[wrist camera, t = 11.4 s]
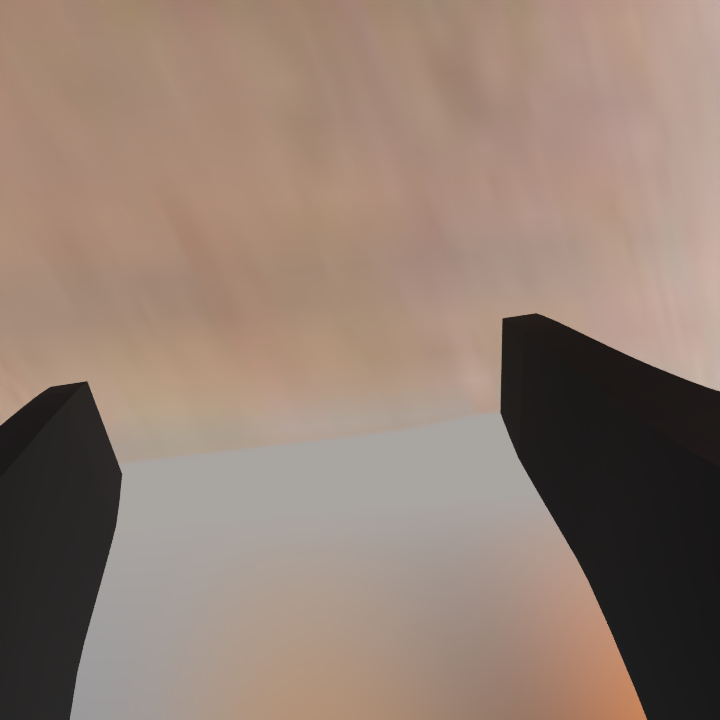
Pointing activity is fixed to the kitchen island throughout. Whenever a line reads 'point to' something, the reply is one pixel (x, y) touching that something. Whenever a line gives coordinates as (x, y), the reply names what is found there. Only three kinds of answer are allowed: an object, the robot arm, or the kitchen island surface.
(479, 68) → the kitchen island surface
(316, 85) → the kitchen island surface
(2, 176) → the kitchen island surface
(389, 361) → the kitchen island surface
